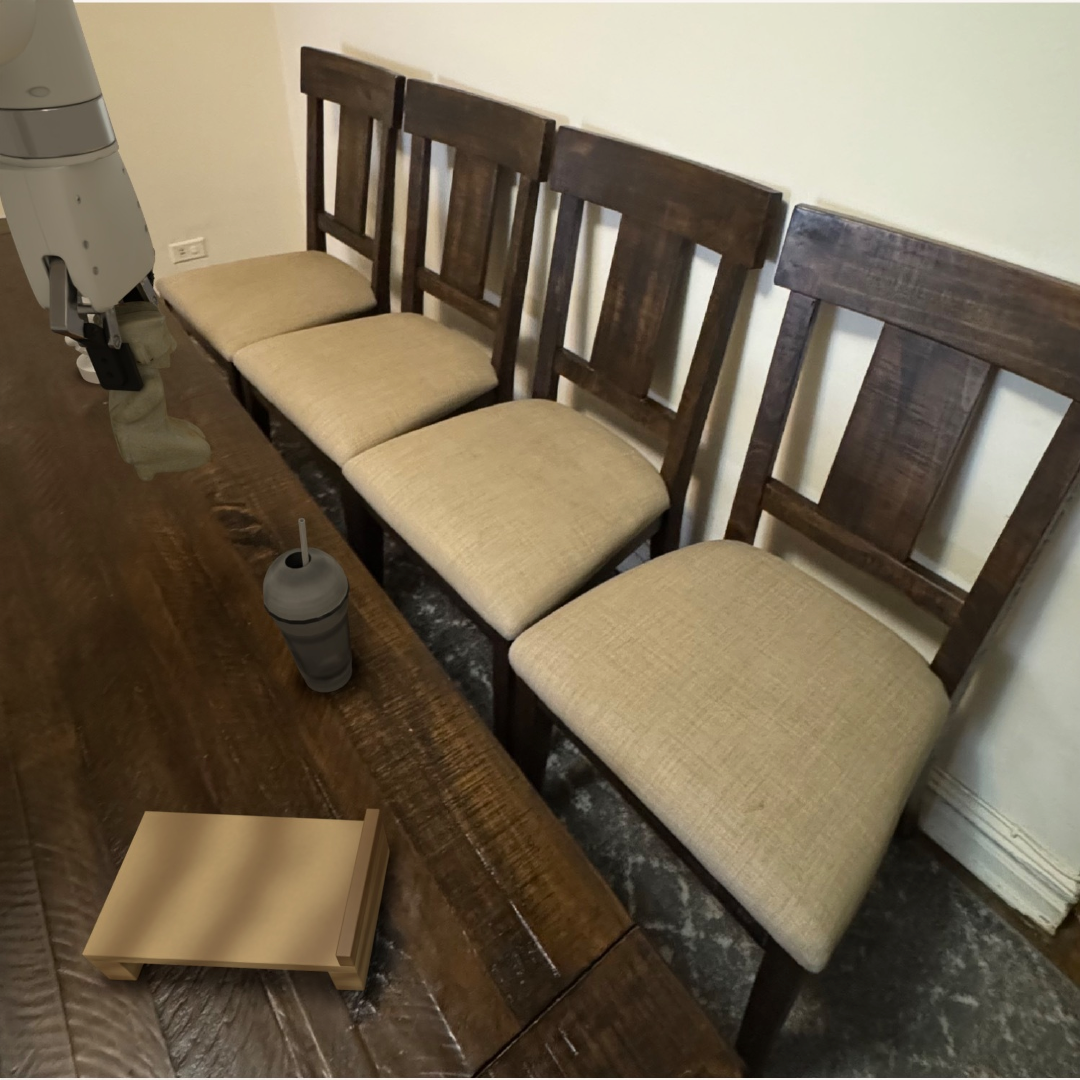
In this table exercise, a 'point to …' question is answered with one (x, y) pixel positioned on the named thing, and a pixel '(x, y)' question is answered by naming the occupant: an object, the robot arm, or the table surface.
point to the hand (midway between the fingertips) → (138, 369)
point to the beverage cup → (312, 613)
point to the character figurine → (84, 355)
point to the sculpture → (151, 400)
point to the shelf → (245, 895)
